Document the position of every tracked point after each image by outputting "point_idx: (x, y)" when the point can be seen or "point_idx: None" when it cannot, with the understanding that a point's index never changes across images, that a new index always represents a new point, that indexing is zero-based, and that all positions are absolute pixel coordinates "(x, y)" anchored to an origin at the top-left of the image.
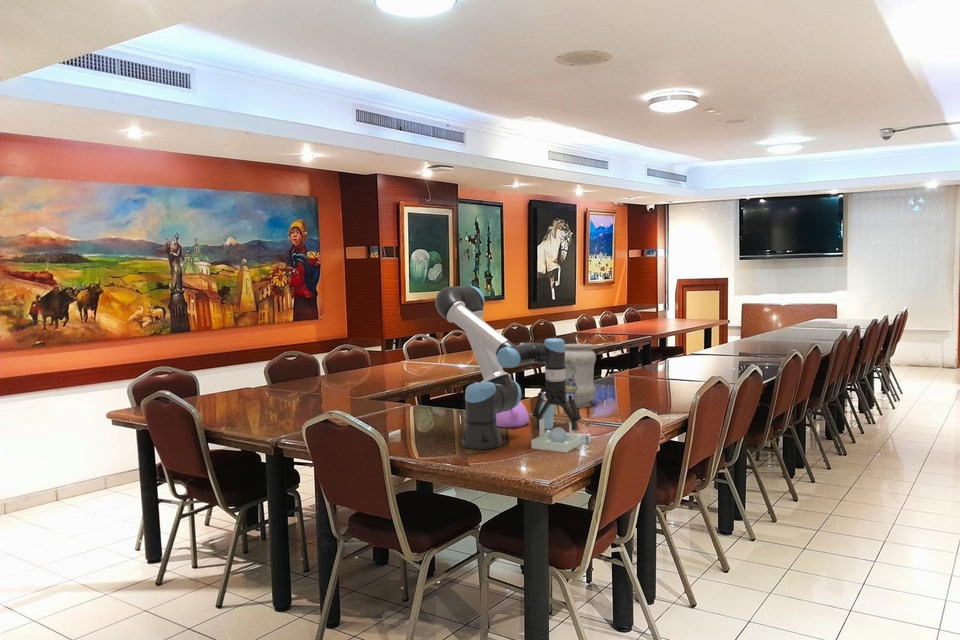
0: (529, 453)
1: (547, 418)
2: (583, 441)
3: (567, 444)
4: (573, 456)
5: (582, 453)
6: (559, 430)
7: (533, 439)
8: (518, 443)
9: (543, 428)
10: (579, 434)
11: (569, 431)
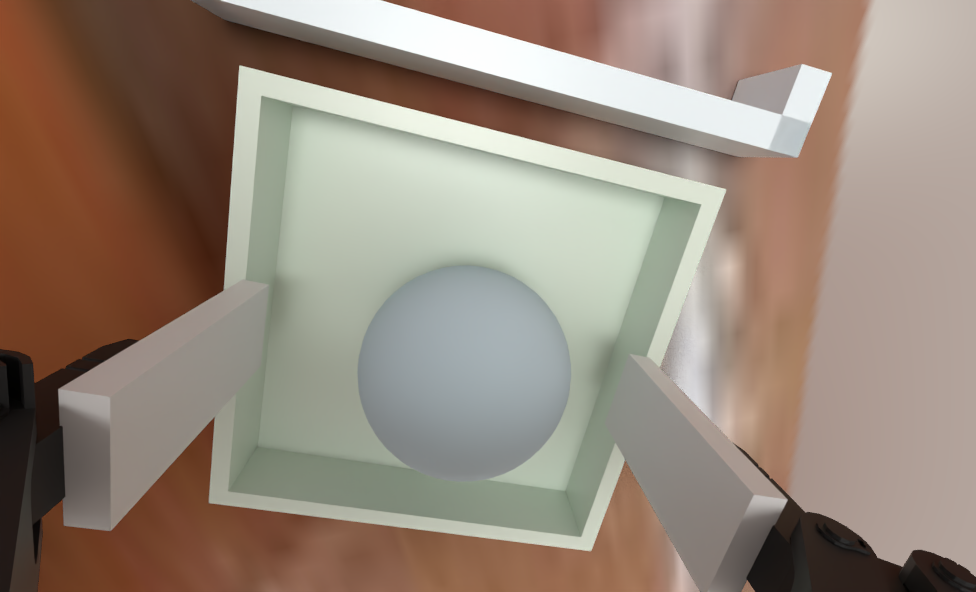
0: (293, 575)
1: None
2: (699, 144)
3: (595, 524)
4: (632, 566)
5: None
6: (505, 468)
7: (217, 472)
8: (25, 304)
9: (222, 345)
10: (693, 114)
11: (641, 485)
